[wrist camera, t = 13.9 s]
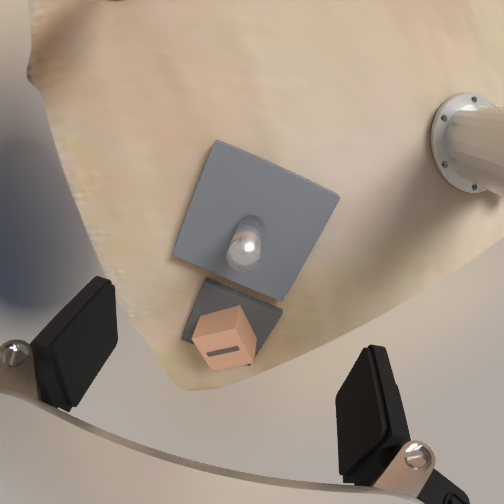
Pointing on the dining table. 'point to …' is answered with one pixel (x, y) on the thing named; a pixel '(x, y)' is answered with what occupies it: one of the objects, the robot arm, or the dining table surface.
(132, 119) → the dining table surface
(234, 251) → the post
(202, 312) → the pad
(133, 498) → the robot arm
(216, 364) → the tan slotted box
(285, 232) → the stand
